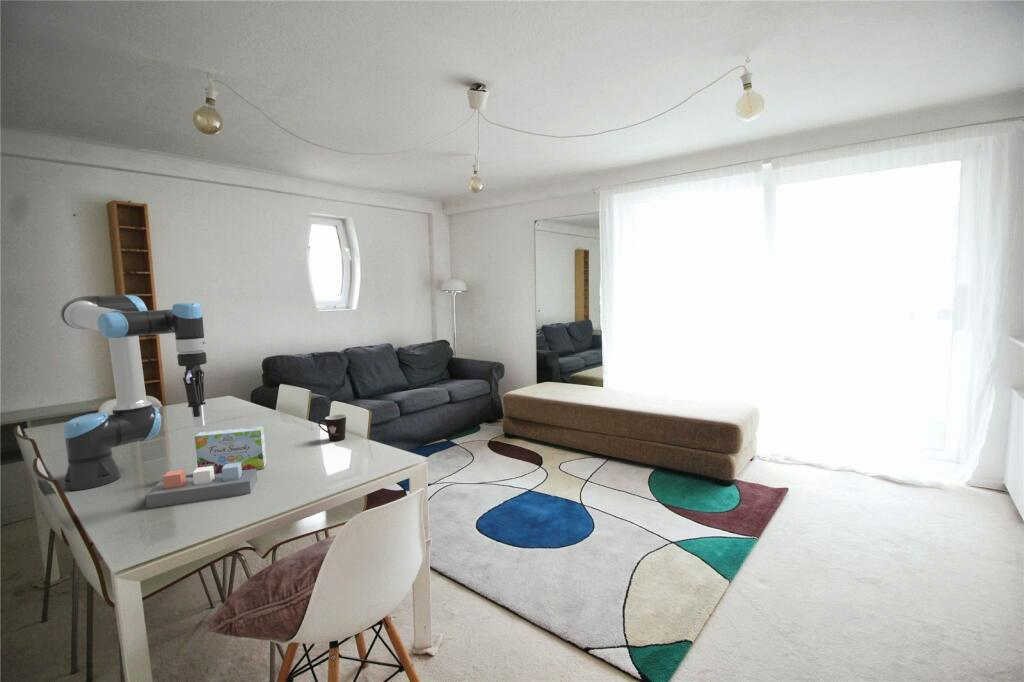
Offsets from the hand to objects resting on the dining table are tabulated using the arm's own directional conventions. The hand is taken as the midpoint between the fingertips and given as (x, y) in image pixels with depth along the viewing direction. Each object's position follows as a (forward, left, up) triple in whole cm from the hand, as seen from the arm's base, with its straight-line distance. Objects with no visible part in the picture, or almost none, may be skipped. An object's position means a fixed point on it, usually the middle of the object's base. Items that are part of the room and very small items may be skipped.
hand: (199, 426), depth 153 cm
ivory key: (0, 0, -19) cm, 19 cm away
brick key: (-8, 0, -19) cm, 20 cm away
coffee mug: (+38, +46, -22) cm, 64 cm away
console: (0, 0, -22) cm, 22 cm away
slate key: (+8, 0, -19) cm, 20 cm away
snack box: (+4, +20, -22) cm, 30 cm away
